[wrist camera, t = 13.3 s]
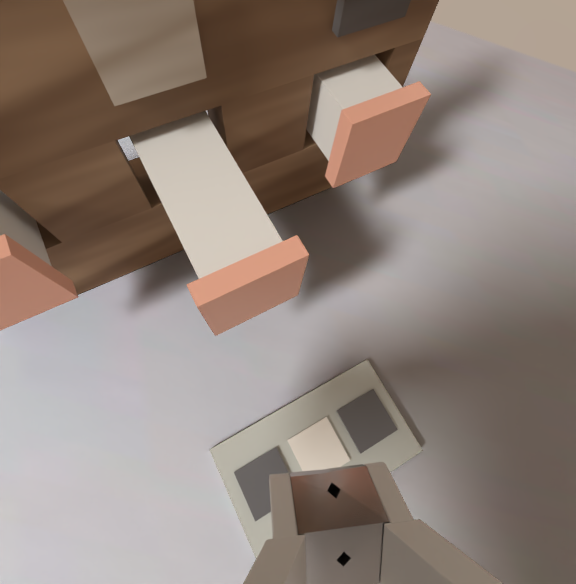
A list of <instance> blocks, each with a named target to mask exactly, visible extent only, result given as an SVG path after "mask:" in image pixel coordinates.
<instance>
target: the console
mask: <svg viewBox="0 0 576 584" xmlns="http://www.w3.org/2000/svg"><path fill="white" fill-rule="evenodd" d="M438 2H439V0H0V190H1V191H2V192H3V193H4V194H6V195H7V196H8V197H9V198H10V199H11V200H13V201H14V202H15V203H16V204H17V205H19V206H20V207H21V208H22V209H23V210H24V211H26V212H27V213H28V214H29V215H30V216H31V217H33V218H34V219H35V220H36V222H37V225H38V228H39V231H40V234H41V237H42V240H43V243H44V246H45V248H46V251H47V254H48V257H49V260H50V263H51V266H52V267H53V268H55V269H56V270H58V271H59V272H60V273H62V274H63V275H65V276H66V277H68V278H69V279H71V280H72V281H73V284H74V286H75V289H76V292H77V295H78V294H81V293H83V292H85V291H88V290H90V289H92V288H95V287H97V286H99V285H102V284H104V283H107V282H109V281H111V280H114V279H116V278H118V277H121V276H123V275H125V274H128V273H130V272H133V271H135V270H137V269H140V268H142V267H144V266H147V265H149V264H151V263H154V262H156V261H158V260H161V259H163V258H166V257H168V256H170V255H173V254H175V253H177V252H180V251H182V250H184V247H183V245H182V243H181V241H180V239H179V237H178V235H177V233H176V231H175V229H174V227H173V225H172V223H171V221H170V219H169V217H168V215H167V213H166V210H165V208H164V206H163V204H162V202H161V200H160V198H159V196H158V194H157V192H156V190H155V188H154V186H153V184H152V182H151V180H150V178H149V176H148V174H147V172H146V170H145V167H144V165H143V163H142V161H141V159H140V157H139V158H136V159H133V160H130V161H128V159H127V157H126V155H125V153H124V152H123V150H122V148H121V146H120V144H119V142H118V139H121V138H124V137H128V136H131V135H134V134H137V133H140V132H143V131H146V130H149V129H152V128H155V127H158V126H161V125H164V124H167V123H170V122H173V121H176V120H179V119H182V118H185V117H188V116H191V115H194V114H197V113H200V112H203V111H206V110H207V111H208V116H209V118H210V120H211V121H212V123H213V125H214V126H215V128H216V130H217V131H218V133H219V135H220V136H221V138H222V140H223V141H224V143H225V145H226V147H227V148H228V150H229V152H230V153H231V155H232V157H233V158H234V160H235V162H236V163H237V165H238V167H239V168H240V170H241V172H242V173H243V175H244V177H245V178H246V180H247V182H248V183H249V185H250V187H251V189H252V190H253V192H254V194H255V195H256V197H257V199H258V200H259V202H260V204H261V205H262V207H263V209H264V210H265V212H266V214H269V213H272V212H274V211H276V210H279V209H281V208H284V207H286V206H288V205H291V204H293V203H295V202H298V201H300V200H302V199H305V198H307V197H310V196H312V195H314V194H317V193H319V192H321V191H324V190H326V189H328V188H331V187H332V186H331V184H330V183H329V181H328V180H327V179H326V177H325V174H326V170H327V166H328V162H329V161H328V159H327V158H326V157H325V155H324V154H323V152H322V151H321V149H320V148H319V147H318V145H317V144H316V142H315V141H314V140H313V138H312V137H311V135H310V134H309V132H308V131H307V130H306V127H307V120H308V113H309V106H310V99H311V93H312V86H313V79H314V74H317V73H320V72H323V71H326V70H329V69H332V68H335V67H338V66H341V65H344V64H347V63H350V62H353V61H356V60H360V59H363V58H366V57H369V56H372V55H376V57H377V58H378V59H379V60H380V61H381V62H382V64H383V65H384V66H385V67H386V68H387V69H388V71H389V72H390V73H391V74H392V75H393V76H394V78H395V79H396V80H397V81H398V82H399V83H400V85H401V86H402V87H403V85H404V83H405V80H406V78H407V75H408V73H409V71H410V68H411V66H412V63H413V61H414V59H415V56H416V54H417V52H418V49H419V47H420V44H421V42H422V40H423V37H424V35H425V33H426V30H427V28H428V25H429V23H430V21H431V18H432V16H433V13H434V11H435V9H436V6H437V4H438Z"/></svg>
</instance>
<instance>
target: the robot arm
mask: <svg viewBox="0 0 576 584" xmlns="http://www.w3.org/2000/svg"><path fill="white" fill-rule="evenodd" d="M269 486H270V503H271V519H272V535H273V539H268V540H266V541H265V543H264V545H263V547H262V549H261V551H260V553H259V555H258V557H257V558H256V560H255V562H254V564H253V566H252V568H251V570H250V572H249V574H248V576H247V577H246V579H245V581H244V583H243V584H503V583H502V582H500V581H499V580H498V579H497V578H495V577H494V576H493V575H491V574H490V573H489V572H487V571H486V570H485V569H484V568H482V567H481V566H480V565H478V564H477V563H476V562H475V561H473V560H472V559H471V558H469V557H468V556H467V555H465V554H464V553H463V552H462V551H460V550H459V549H458V548H456V547H455V546H454V545H453V544H451V543H450V542H449V541H447V540H446V539H445V538H443V537H442V536H441V535H440V534H438V533H437V532H436V531H434V530H433V529H432V528H431V527H429V526H428V525H427V524H425V523H424V522H423V521H421V520H420V519H418V520H414V519H413V517H412V515H411V513H410V511H409V509H408V507H407V505H406V503H405V501H404V499H403V497H402V495H401V493H400V491H399V489H398V487H397V485H396V483H395V481H394V479H393V477H392V475H391V473H390V471H389V469H388V467H387V465H386V464H385V463H384V462H376V463H368V464H364V465H363V464H360V465H352V466H344V467H336V468H328V469H323V470H312V471H300V472H289V473H282V474H271V475H269Z"/></svg>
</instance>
